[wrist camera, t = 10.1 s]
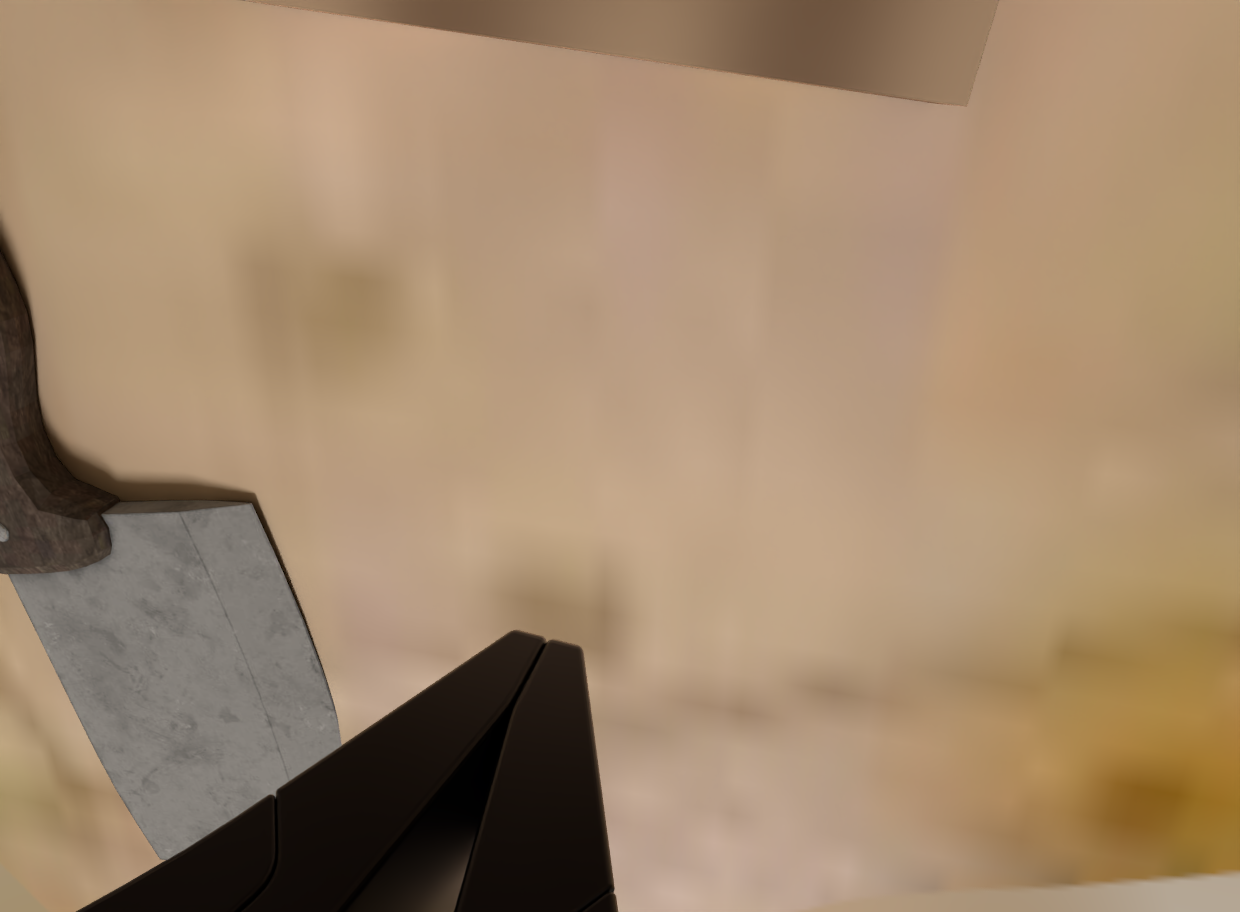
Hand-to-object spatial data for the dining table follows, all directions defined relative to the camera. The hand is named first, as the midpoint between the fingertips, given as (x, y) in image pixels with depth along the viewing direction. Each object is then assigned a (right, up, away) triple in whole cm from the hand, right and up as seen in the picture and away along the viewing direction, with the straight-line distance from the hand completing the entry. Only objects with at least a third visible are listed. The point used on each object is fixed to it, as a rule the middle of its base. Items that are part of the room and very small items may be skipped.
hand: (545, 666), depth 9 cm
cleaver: (-14, 0, +16) cm, 21 cm away
